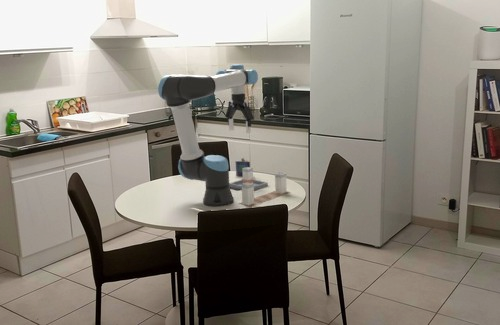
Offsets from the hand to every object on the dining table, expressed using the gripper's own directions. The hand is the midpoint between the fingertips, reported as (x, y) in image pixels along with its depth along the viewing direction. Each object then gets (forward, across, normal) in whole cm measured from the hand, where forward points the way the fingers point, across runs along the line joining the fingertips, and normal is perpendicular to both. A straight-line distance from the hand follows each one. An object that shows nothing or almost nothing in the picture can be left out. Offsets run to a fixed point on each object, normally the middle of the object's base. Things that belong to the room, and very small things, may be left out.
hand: (239, 131), depth 282 cm
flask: (+29, +8, -9) cm, 31 cm away
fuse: (+28, -34, +29) cm, 53 cm away
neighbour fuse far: (+28, -34, +5) cm, 44 cm away
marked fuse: (+28, -12, +7) cm, 31 cm away
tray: (+29, -12, +7) cm, 32 cm away
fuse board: (+29, -34, +17) cm, 48 cm away
